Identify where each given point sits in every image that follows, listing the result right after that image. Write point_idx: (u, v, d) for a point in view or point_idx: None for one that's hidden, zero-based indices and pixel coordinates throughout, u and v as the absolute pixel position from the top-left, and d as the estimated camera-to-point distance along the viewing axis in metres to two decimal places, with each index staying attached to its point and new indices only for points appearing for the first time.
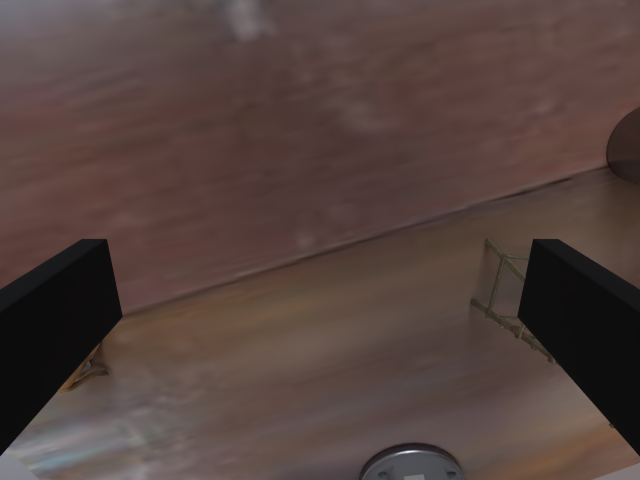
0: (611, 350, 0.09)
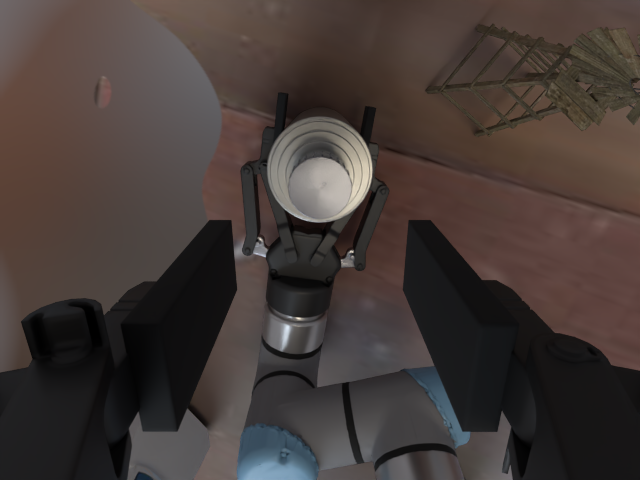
0: (435, 306, 0.10)
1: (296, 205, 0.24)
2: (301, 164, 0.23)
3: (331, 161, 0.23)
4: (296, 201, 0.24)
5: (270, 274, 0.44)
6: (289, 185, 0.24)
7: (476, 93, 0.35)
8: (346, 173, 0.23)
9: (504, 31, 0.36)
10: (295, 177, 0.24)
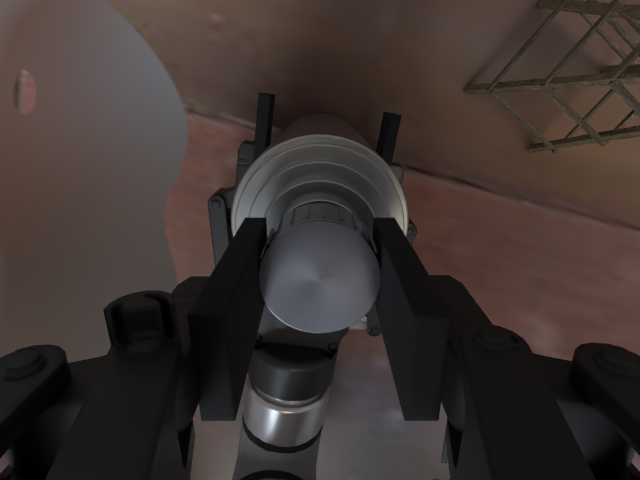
0: (389, 300, 0.11)
1: (274, 309, 0.13)
2: (282, 236, 0.12)
3: (342, 230, 0.12)
4: (274, 302, 0.13)
5: None
6: (260, 274, 0.12)
7: (552, 94, 0.24)
8: (371, 252, 0.12)
9: (593, 2, 0.24)
10: (271, 260, 0.12)
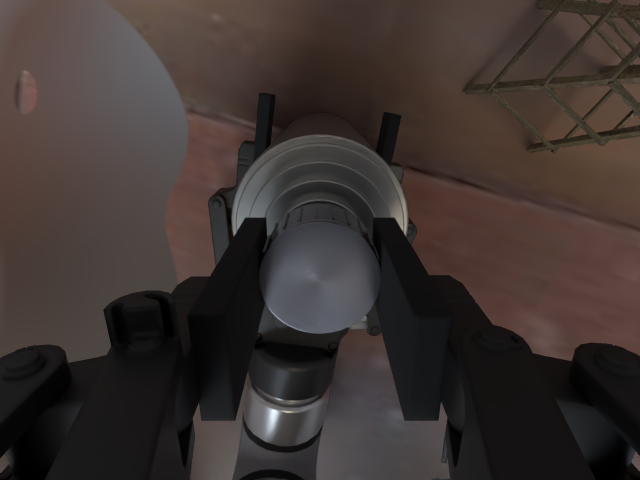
0: (389, 300, 0.11)
1: (348, 322, 0.13)
2: (271, 309, 0.13)
3: (267, 257, 0.12)
4: (340, 322, 0.13)
5: None
6: (309, 330, 0.13)
7: (552, 94, 0.24)
8: (291, 231, 0.12)
9: (592, 2, 0.24)
10: (295, 320, 0.13)
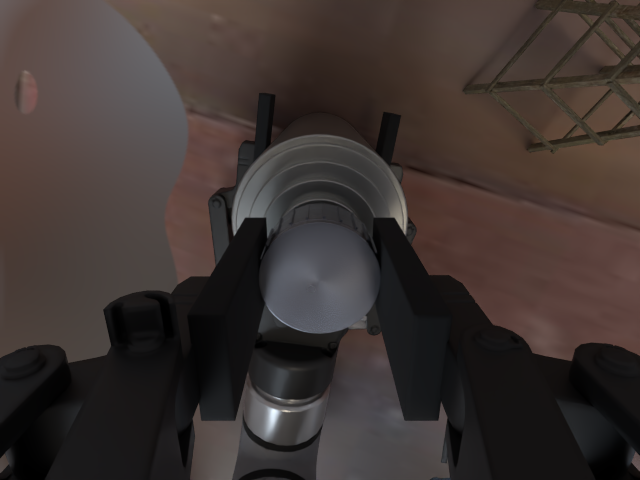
0: (389, 300, 0.11)
1: (371, 256, 0.12)
2: (347, 326, 0.13)
3: (292, 324, 0.13)
4: (369, 264, 0.12)
5: None
6: (376, 294, 0.12)
7: (551, 94, 0.24)
8: (266, 302, 0.13)
9: (591, 3, 0.24)
10: (362, 306, 0.13)
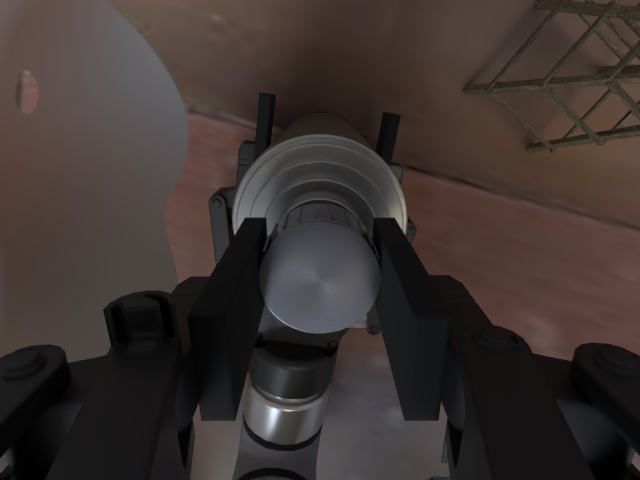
0: (389, 300, 0.11)
1: (295, 232, 0.12)
2: (374, 258, 0.12)
3: (366, 308, 0.13)
4: (303, 234, 0.12)
5: None
6: (339, 227, 0.12)
7: (551, 94, 0.24)
8: (338, 329, 0.13)
9: (590, 3, 0.24)
10: (352, 242, 0.12)
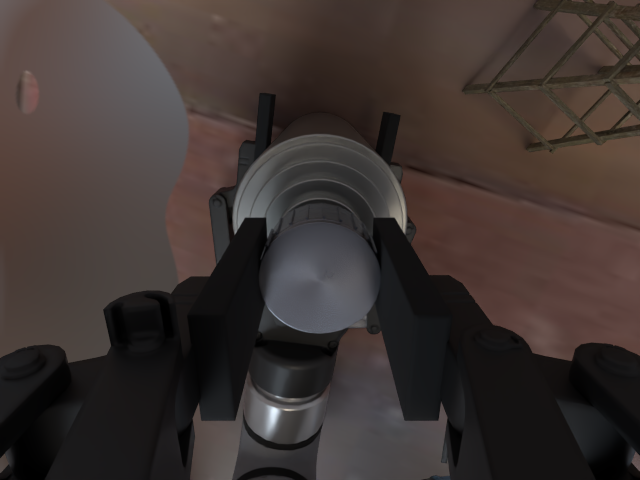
0: (389, 300, 0.11)
1: (267, 298, 0.12)
2: (297, 229, 0.12)
3: (356, 238, 0.12)
4: (269, 292, 0.12)
5: None
6: (263, 260, 0.12)
7: (550, 94, 0.24)
8: (377, 266, 0.12)
9: (590, 3, 0.24)
10: (278, 249, 0.12)
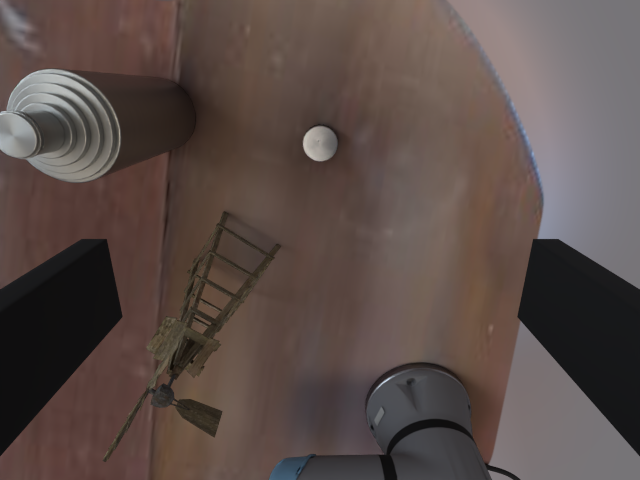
0: (612, 350, 0.09)
1: (324, 159, 0.44)
2: (304, 149, 0.44)
3: (308, 133, 0.43)
4: (322, 158, 0.44)
5: None
6: (313, 159, 0.44)
7: (205, 257, 0.41)
8: (316, 127, 0.43)
9: (262, 268, 0.44)
10: (310, 154, 0.44)
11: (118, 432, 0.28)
